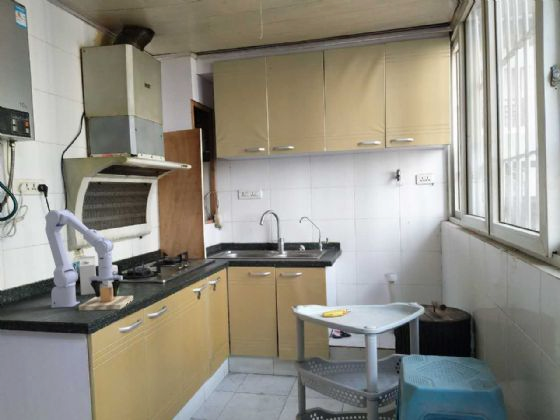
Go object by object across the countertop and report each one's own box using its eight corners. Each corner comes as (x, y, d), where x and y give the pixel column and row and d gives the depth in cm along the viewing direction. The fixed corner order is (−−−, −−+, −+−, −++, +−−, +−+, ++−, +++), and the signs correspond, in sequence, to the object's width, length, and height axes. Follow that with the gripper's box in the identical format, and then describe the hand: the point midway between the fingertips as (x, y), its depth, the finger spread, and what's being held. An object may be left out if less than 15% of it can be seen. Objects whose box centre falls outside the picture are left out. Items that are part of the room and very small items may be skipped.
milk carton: (81, 292, 215) (79, 256, 214) (96, 290, 217) (94, 255, 217) (81, 295, 208) (79, 258, 207) (96, 293, 211) (94, 256, 210)
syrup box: (108, 296, 205) (107, 267, 204) (102, 294, 209) (101, 266, 208) (119, 293, 209) (117, 265, 209) (113, 292, 213) (112, 264, 212)
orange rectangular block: (101, 306, 185) (100, 288, 185) (104, 303, 189) (104, 286, 189) (110, 305, 185) (109, 288, 185) (113, 303, 189) (112, 286, 189)
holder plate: (78, 310, 179) (78, 306, 179) (95, 301, 195) (94, 297, 195) (120, 309, 179) (120, 304, 179) (133, 299, 195) (132, 295, 195)
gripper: (124, 264, 190) (125, 293, 191) (93, 265, 190) (94, 294, 191) (118, 267, 183) (120, 297, 184) (86, 268, 183) (87, 298, 184)
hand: (106, 296), depth 187 cm, fingers open, 7 cm apart
